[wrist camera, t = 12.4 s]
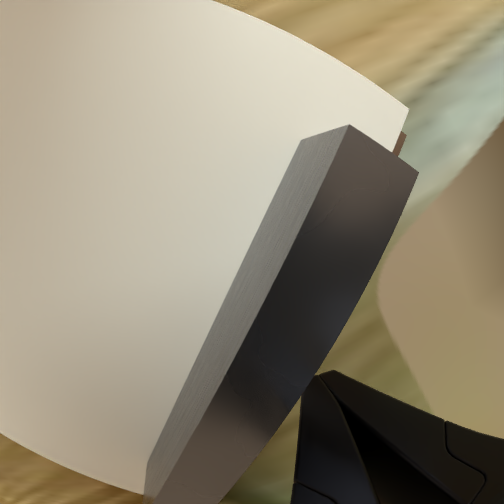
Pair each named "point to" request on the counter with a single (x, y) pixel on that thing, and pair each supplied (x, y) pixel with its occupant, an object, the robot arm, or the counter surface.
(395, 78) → the counter surface
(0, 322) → the lid
